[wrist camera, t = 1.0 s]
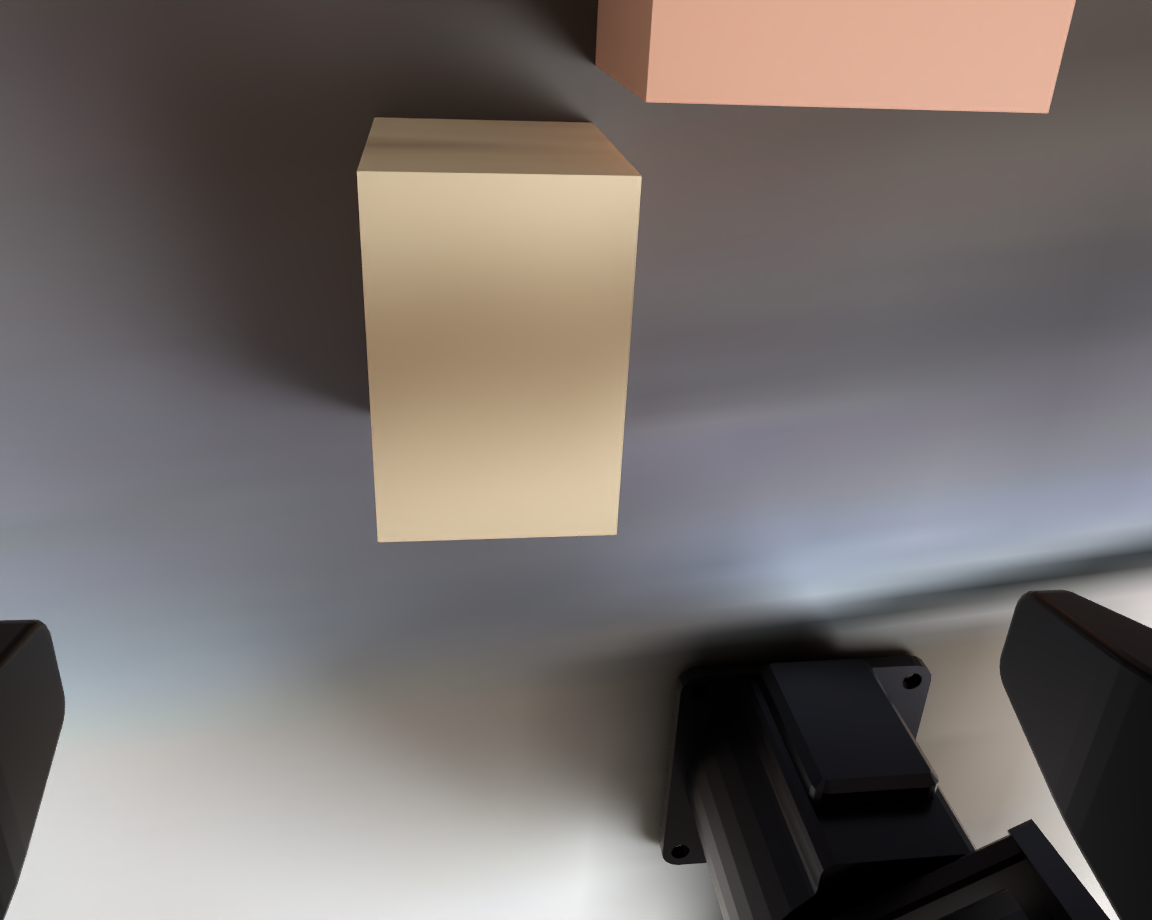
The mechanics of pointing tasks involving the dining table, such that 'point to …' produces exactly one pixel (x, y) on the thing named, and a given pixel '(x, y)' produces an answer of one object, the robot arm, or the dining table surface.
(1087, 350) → the dining table surface
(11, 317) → the dining table surface
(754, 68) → the terracotta block
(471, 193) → the maple block
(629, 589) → the dining table surface
